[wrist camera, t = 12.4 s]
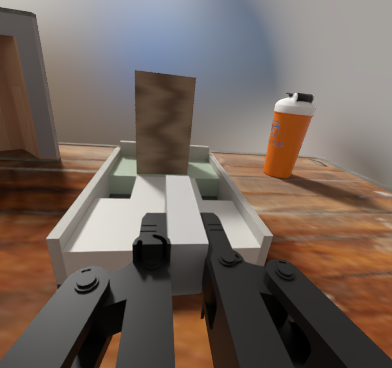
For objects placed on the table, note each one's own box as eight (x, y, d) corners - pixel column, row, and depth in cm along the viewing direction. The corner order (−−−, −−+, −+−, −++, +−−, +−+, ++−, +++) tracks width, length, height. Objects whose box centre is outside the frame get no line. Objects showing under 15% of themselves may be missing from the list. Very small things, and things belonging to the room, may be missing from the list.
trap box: (57, 284, 20) (42, 224, 17) (117, 171, 47) (116, 140, 44) (261, 275, 24) (276, 223, 21) (208, 174, 50) (212, 146, 48)
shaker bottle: (281, 167, 62) (302, 94, 53) (301, 180, 54) (329, 96, 46) (254, 167, 59) (271, 90, 51) (270, 179, 52) (294, 92, 43)
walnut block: (136, 173, 36) (134, 70, 30) (138, 157, 44) (137, 73, 38) (187, 174, 38) (195, 77, 32) (180, 159, 46) (186, 79, 40)
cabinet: (-50, 157, 45) (-117, -11, 33) (-16, 146, 53) (-59, 9, 42) (57, 162, 48) (30, 12, 37) (73, 150, 57) (55, 26, 46)
